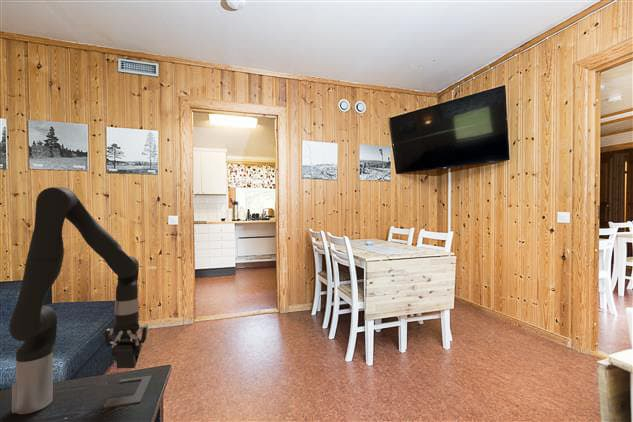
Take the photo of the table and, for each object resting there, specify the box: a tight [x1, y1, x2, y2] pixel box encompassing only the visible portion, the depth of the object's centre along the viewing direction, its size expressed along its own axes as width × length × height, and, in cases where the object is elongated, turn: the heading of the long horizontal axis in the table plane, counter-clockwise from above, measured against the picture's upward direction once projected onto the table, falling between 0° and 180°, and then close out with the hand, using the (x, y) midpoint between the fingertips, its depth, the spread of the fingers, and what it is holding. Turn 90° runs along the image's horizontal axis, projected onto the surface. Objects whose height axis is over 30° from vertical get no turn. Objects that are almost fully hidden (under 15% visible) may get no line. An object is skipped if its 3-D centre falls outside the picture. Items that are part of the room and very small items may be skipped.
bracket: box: [103, 375, 152, 409], centre depth 111 cm, size 11×17×1 cm, turn 17°
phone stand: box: [113, 340, 143, 369], centre depth 113 cm, size 9×6×12 cm
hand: (126, 355), depth 112 cm, fingers closed on phone stand, 6 cm apart
